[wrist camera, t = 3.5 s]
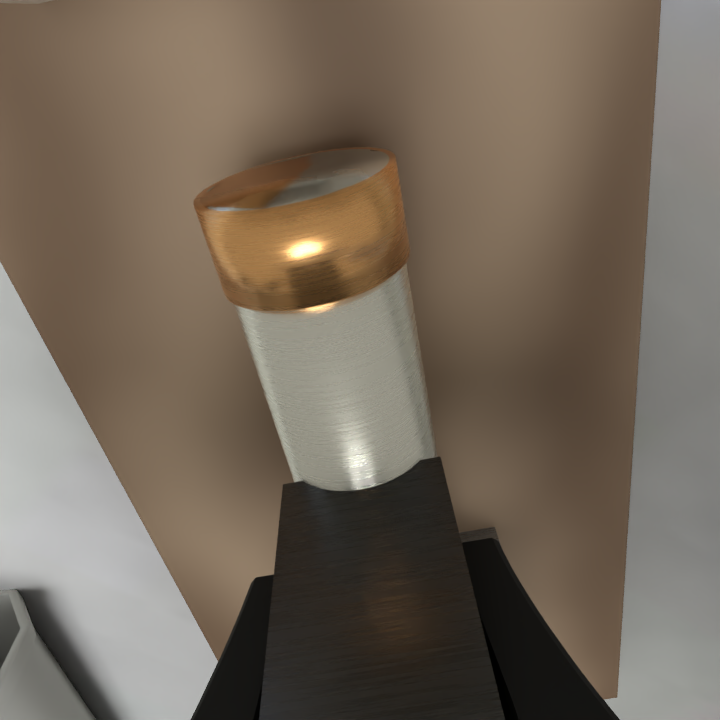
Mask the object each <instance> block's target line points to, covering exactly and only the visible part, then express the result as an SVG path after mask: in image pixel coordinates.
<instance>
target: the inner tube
mask: <svg viewBox="0 0 720 720" xmlns="http://www.w3.org/2000/svg"><path fill="white" fill-rule="evenodd" d="M193 205H194V208H195V211H196V214H197V216H198V219H199V222H200V225H201V228H202V231H203V234H204V237H205V240H206V243H207V246H208V248H209V251H210V254H211V257H212V260H213V263H214V266H215V269H216V272H217V275H218V277H219V280H220V283H221V286H222V289H223V292H224V294H225V296H226V298H227V299H228V300H229V301H230V302H232V303H233V304H234V305H235V308H236V311H237V314H238V317H239V320H240V323H241V326H242V329H243V332H244V335H245V338H246V341H247V344H248V347H249V350H250V353H251V356H252V359H253V362H254V364H255V367H256V370H257V373H258V376H259V379H260V382H261V385H262V388H263V391H264V394H265V397H266V400H267V403H268V406H269V409H270V412H271V415H272V418H273V421H274V424H275V427H276V430H277V433H278V436H279V438H280V441H281V444H282V447H283V450H284V453H285V456H286V459H287V462H288V465H289V468H290V471H291V474H292V477H293V480H294V482H293V483H287V484H283V488H282V498H281V508H280V517H279V527H278V537H277V547H276V557H275V567H274V577H273V587H272V597H271V607H270V617H269V626H268V636H267V646H266V656H265V666H264V676H263V686H262V696H261V706H260V716H259V720H505V717H504V713H503V709H502V705H501V701H500V697H499V693H498V689H497V685H496V681H495V677H494V673H493V669H492V664H491V660H490V656H489V652H488V648H487V644H486V640H485V636H484V632H483V628H482V624H481V620H480V616H479V612H478V608H477V603H476V599H475V595H474V591H473V587H472V583H471V579H470V575H469V571H468V567H467V563H466V559H465V555H464V551H463V546H462V542H461V538H460V534H459V530H458V526H457V522H456V518H455V514H454V510H453V506H452V502H451V498H450V494H449V490H448V485H447V481H446V477H445V473H444V469H443V465H442V461H441V457H438V456H437V450H436V443H435V437H434V431H433V425H432V419H431V412H430V406H429V400H428V394H427V388H426V382H425V375H424V369H423V363H422V357H421V351H420V345H419V338H418V332H417V326H416V320H415V314H414V308H413V301H412V295H411V289H410V283H409V277H408V271H407V264H406V262H407V260H408V258H409V256H410V245H409V239H408V232H407V226H406V220H405V213H404V207H403V200H402V194H401V188H400V181H399V175H398V168H397V162H396V156H395V154H394V153H392V152H391V151H388V150H385V149H380V148H371V147H355V148H341V149H332V150H325V151H318V152H313V153H307V154H302V155H297V156H293V157H288V158H284V159H280V160H276V161H273V162H269V163H266V164H263V165H259V166H256V167H253V168H250V169H247V170H244V171H242V172H239V173H236V174H234V175H231V176H229V177H227V178H224V179H222V180H220V181H218V182H216V183H214V184H213V185H211V186H209V187H207V188H206V189H204V190H203V191H202V192H200V193H199V194H198V195H197V196H196V197H195V199H194V201H193Z"/></svg>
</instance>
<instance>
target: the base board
mask: <svg viewBox="0 0 720 720" xmlns="http://www.w3.org/2000/svg"><path fill="white" fill-rule="evenodd" d="M660 11H661V0H53V1H48V2H44V3H40V4H26V3H0V262H1V263H2V265H3V267H4V269H5V271H6V273H7V274H8V276H9V278H10V280H11V282H12V284H13V285H14V287H15V289H16V291H17V293H18V295H19V296H20V298H21V300H22V302H23V304H24V306H25V307H26V309H27V311H28V313H29V315H30V317H31V319H32V320H33V322H34V324H35V326H36V328H37V330H38V331H39V333H40V335H41V337H42V339H43V341H44V342H45V344H46V346H47V348H48V350H49V352H50V353H51V355H52V357H53V359H54V361H55V363H56V364H57V366H58V368H59V370H60V372H61V374H62V375H63V377H64V379H65V381H66V383H67V385H68V386H69V388H70V390H71V392H72V394H73V396H74V397H75V399H76V401H77V403H78V405H79V407H80V408H81V410H82V412H83V414H84V416H85V418H86V419H87V421H88V423H89V425H90V427H91V429H92V430H93V432H94V434H95V436H96V438H97V440H98V442H99V443H100V445H101V447H102V449H103V451H104V453H105V454H106V456H107V458H108V460H109V462H110V464H111V465H112V467H113V469H114V471H115V473H116V475H117V476H118V478H119V480H120V482H121V484H122V486H123V487H124V489H125V491H126V493H127V495H128V497H129V498H130V500H131V502H132V504H133V506H134V508H135V509H136V511H137V513H138V515H139V517H140V519H141V520H142V522H143V524H144V526H145V528H146V530H147V531H148V533H149V535H150V537H151V539H152V541H153V542H154V544H155V546H156V548H157V550H158V552H159V554H160V555H161V557H162V559H163V561H164V563H165V565H166V566H167V568H168V570H169V572H170V574H171V576H172V577H173V579H174V581H175V583H176V585H177V587H178V588H179V590H180V592H181V594H182V596H183V598H184V599H185V601H186V603H187V605H188V607H189V609H190V610H191V612H192V614H193V616H194V618H195V620H196V621H197V623H198V625H199V627H200V629H201V631H202V632H203V634H204V636H205V638H206V640H207V642H208V643H209V645H210V647H211V649H212V651H213V653H214V654H215V656H216V658H217V660H218V661H219V659H220V657H221V655H222V652H223V650H224V648H225V646H226V643H227V641H228V639H229V636H230V634H231V632H232V629H233V627H234V625H235V622H236V620H237V617H238V615H239V612H240V610H241V607H242V605H243V603H244V600H245V597H246V595H247V592H248V590H249V587H250V585H251V582H252V581H253V580H254V579H255V578H256V577H261V576H267V575H273V574H274V567H275V557H276V547H277V537H278V527H279V517H280V508H281V498H282V488H283V484H287V483H293V482H294V480H293V477H292V474H291V471H290V468H289V465H288V462H287V459H286V456H285V453H284V450H283V447H282V444H281V441H280V438H279V436H278V433H277V430H276V427H275V424H274V421H273V418H272V415H271V412H270V409H269V406H268V403H267V400H266V397H265V394H264V391H263V388H262V385H261V382H260V379H259V376H258V373H257V370H256V367H255V364H254V362H253V359H252V356H251V353H250V350H249V347H248V344H247V341H246V338H245V335H244V332H243V329H242V326H241V323H240V320H239V317H238V314H237V311H236V308H235V305H234V304H233V303H232V302H230V301H229V300H228V299H227V298H226V296H225V294H224V292H223V289H222V286H221V283H220V280H219V277H218V275H217V272H216V269H215V266H214V263H213V260H212V257H211V254H210V251H209V248H208V246H207V243H206V240H205V237H204V234H203V231H202V228H201V225H200V222H199V219H198V216H197V214H196V211H195V208H194V205H193V201H194V199H195V197H196V196H197V195H198V194H199V193H200V192H202V191H203V190H204V189H206V188H207V187H209V186H211V185H213V184H214V183H216V182H218V181H220V180H222V179H224V178H227V177H229V176H231V175H234V174H236V173H239V172H242V171H244V170H247V169H250V168H253V167H256V166H259V165H263V164H266V163H269V162H273V161H276V160H280V159H284V158H288V157H293V156H297V155H302V154H307V153H313V152H318V151H325V150H332V149H341V148H355V147H371V148H380V149H385V150H388V151H391V152H392V153H394V154H395V156H396V162H397V168H398V175H399V181H400V188H401V194H402V200H403V207H404V213H405V220H406V226H407V232H408V239H409V245H410V256H409V258H408V260H407V262H406V264H407V271H408V277H409V283H410V289H411V295H412V301H413V308H414V314H415V320H416V326H417V332H418V338H419V345H420V351H421V357H422V363H423V369H424V375H425V382H426V388H427V394H428V400H429V406H430V412H431V419H432V425H433V431H434V437H435V443H436V450H437V456H438V457H441V461H442V465H443V469H444V473H445V477H446V481H447V485H448V490H449V494H450V498H451V502H452V506H453V510H454V514H455V518H456V522H457V526H458V530H459V533H460V532H466V531H472V530H478V529H484V528H490V527H495V529H496V532H497V535H498V538H499V542H500V545H501V547H502V550H503V552H504V554H505V556H506V557H507V559H508V561H509V563H510V565H511V567H512V569H513V570H514V572H515V574H516V576H517V577H518V579H519V581H520V582H521V584H522V586H523V587H524V589H525V591H526V592H527V594H528V595H529V597H530V599H531V600H532V602H533V603H534V605H535V606H536V608H537V610H538V611H539V612H540V614H541V615H542V617H543V618H544V620H545V621H546V623H547V624H548V626H549V627H550V629H551V630H552V631H553V633H554V634H555V636H556V637H557V638H558V640H559V641H560V643H561V644H562V645H563V647H564V648H565V650H566V651H567V652H568V654H569V655H570V657H571V658H572V659H573V661H574V662H575V663H576V665H577V666H578V667H579V669H580V670H581V671H582V673H583V674H584V675H585V677H586V678H587V679H588V681H589V682H590V683H591V684H592V686H593V687H594V688H595V690H596V691H597V692H598V693H599V695H600V696H601V697H602V698H603V699H609V698H616V697H617V692H618V676H619V660H620V644H621V629H622V613H623V597H624V581H625V565H626V549H627V534H628V518H629V502H630V486H631V470H632V454H633V439H634V423H635V407H636V391H637V375H638V359H639V344H640V328H641V312H642V296H643V280H644V264H645V249H646V233H647V217H648V201H649V185H650V169H651V154H652V138H653V122H654V106H655V90H656V74H657V59H658V43H659V27H660Z"/></svg>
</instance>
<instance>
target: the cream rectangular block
mask: <svg viewBox="0 0 720 720" xmlns="http://www.w3.org/2000/svg"><path fill="white" fill-rule="evenodd" d="M48 1H53V0H0V3H26V4H40V3H44V2H48Z"/></svg>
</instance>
